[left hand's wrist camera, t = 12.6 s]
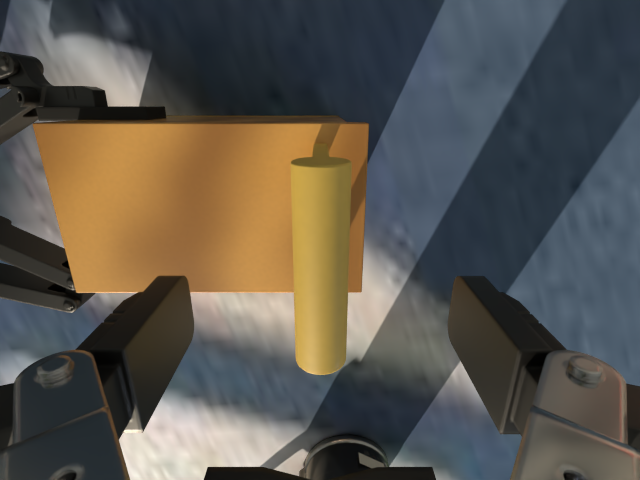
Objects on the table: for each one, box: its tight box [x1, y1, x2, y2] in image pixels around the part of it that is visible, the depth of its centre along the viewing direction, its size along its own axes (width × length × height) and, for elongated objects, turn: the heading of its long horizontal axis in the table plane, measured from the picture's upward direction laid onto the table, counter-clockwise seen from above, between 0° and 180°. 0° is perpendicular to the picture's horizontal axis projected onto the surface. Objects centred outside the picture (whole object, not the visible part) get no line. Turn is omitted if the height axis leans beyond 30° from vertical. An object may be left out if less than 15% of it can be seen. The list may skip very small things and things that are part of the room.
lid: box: [33, 122, 369, 375], centre depth 17 cm, size 17×10×9 cm, turn 90°
